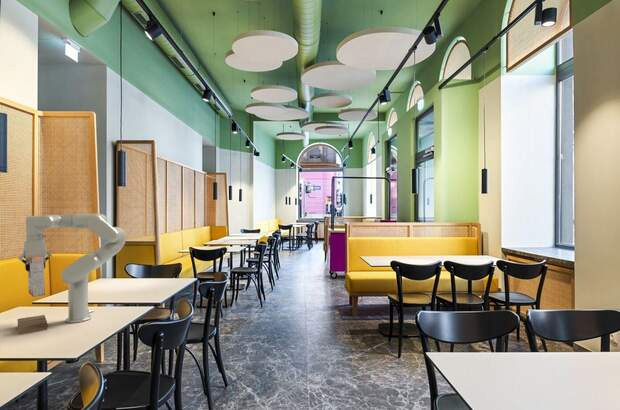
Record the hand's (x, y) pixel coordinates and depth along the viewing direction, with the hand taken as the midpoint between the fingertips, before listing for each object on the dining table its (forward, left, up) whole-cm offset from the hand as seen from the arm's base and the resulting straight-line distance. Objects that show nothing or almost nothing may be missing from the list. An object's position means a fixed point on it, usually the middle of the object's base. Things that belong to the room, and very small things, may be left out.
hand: (35, 269), depth 216 cm
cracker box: (0, 0, -14) cm, 14 cm away
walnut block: (+8, +7, -29) cm, 31 cm away
